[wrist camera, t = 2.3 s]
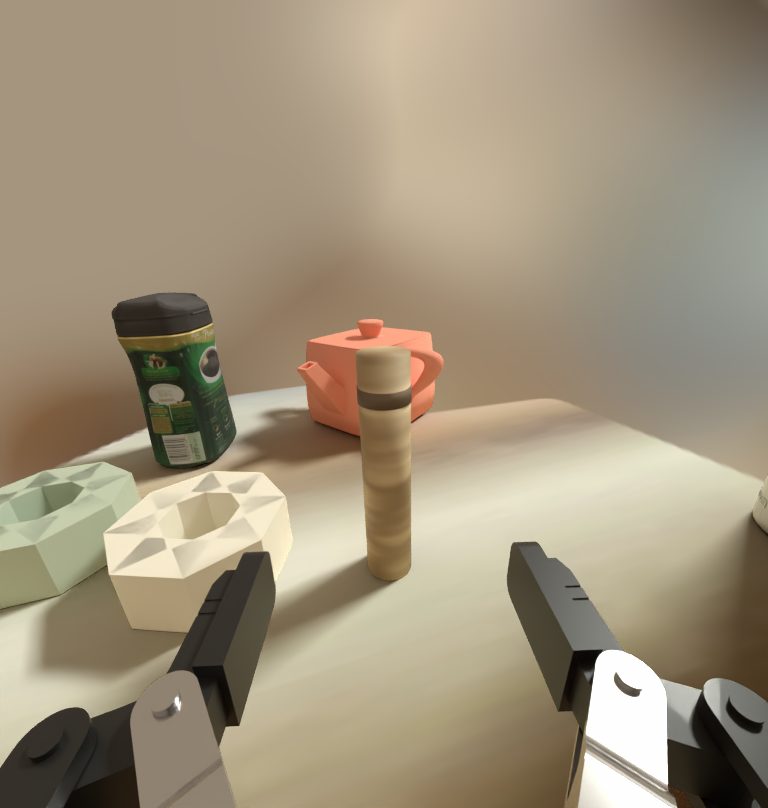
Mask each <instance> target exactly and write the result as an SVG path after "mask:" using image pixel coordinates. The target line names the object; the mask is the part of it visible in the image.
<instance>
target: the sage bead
mask: <svg viewBox="0 0 768 808" xmlns="http://www.w3.org/2000/svg"><path fill="white" fill-rule="evenodd" d="M140 501H141V499H140V496H139V493H138V490H137V487H136V484H135V481H134V478H133V475H132V473H130V472H128V471H126V470H123V469H121V468H118V467H116V466H113V465H111V464H108V463H106V462H97V463H91V464H84V465H78V466H71V467H65V468H58V469H52V470H45V471H42V472H39V473H37V474H34V475H32V476H29V477H27V478H24V479H22V480H19V481H17V482H14V483H12V484H9V485H6V486H4V487H2V488H0V609H2V608H6V607H11V606H15V605H19V604H24V603H28V602H32V601H36V600H41V599H45V598H49V597H53V596H58V595H61V594H62V593H64V592H65V591H67V590H69V589H70V588H72V587H73V586H75V585H76V584H78V583H79V582H81V581H83V580H84V579H86V578H87V577H89V576H90V575H92V574H93V573H95V572H97V571H98V570H100V569H101V568H103V567H104V566H106V565H107V557H106V549H105V542H104V535H103V533H104V532H105V531H106V530H107V529H109V528H110V527H111V526H112V525H113V524H114V523H116V522H117V521H118V520H119V519H120V518H121V517H123V516H124V515H125V514H126V513H127V512H128V511H130V510H131V509H132V508H133V507H134V506H135V505H137V504H138V503H139V502H140Z"/></svg>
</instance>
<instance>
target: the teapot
mask: <svg viewBox="0 0 768 808" xmlns="http://www.w3.org/2000/svg"><path fill="white" fill-rule="evenodd" d="M357 325H358V328H359V329H355V330H350V331H346V332H341V333H337V334H332V335H328V336H324V337H320V338H316V339H313V340H310V341H308V342H307V349H306V350H307V351H306V363H305V364H303V365H302V366H300V367H298V368H297V370H298V372H299V373H300V375H301V376H302V378H303V379H304V380H305V382H306V386H307V400H308V407H309V411H310V414H311V417H312V419H313V420H314V421H317V422H319V423H322V424H325V425H327V426H330V427H333V428H336V429H339V430H341V431H344V432H347V433H350V434H353V435H356V436H359V437H360V421H359V405H358V402H357V372H356V355H355V353H356V352H357V351H358V350H361V349H364V348H369V347H376V346H396V347H403V348H407V349H409V350H410V351H411V384H412V401H411V421H413V420H414V419H416V418H417V417H419V416H420V415H422V414H423V413H425V412H426V411H427V410H429V409H430V408H431V407H432V403H433V398H434V392H435V379H436V378H437V377H438V375H439V374H440V372H441V370H442V367H443V359H442V357H441V356H440V355H439V354H438V353H436V352H434V351H433V349H432V340H431V334H430V333H429V332H422V331H413V330H404V329H394V328H383V327H382V326H383V321H382V320H378V319H365V320H360V321H358V322H357Z"/></svg>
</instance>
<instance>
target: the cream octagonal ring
mask: <svg viewBox="0 0 768 808" xmlns="http://www.w3.org/2000/svg"><path fill="white" fill-rule="evenodd" d="M103 535H104V542H105V549H106V557H107V564H108V571H109V576H110V578H111V581H112V583H113V586H114V588H115V590H116V593H117V595H118V598H119V600H120V602H121V605H122V607H123V610H124V612H125V614H126V617H127V619H128V622H129V624H130V626H131V629H142V630H156V631H170V632H185V633H188V632H189V630H190V628H191V626H192V624H193V622H194V620H195V618H196V616H198V612H199V610H200V608H201V606H202V604H203V603H204V601H205V598H206V596H207V594H208V592H209V590H210V588H211V586H212V584H213V583H214V582H215V581H216V580H217V579H218V578H219V577H220V576H221V575H222V574H223V573H224V572H225V571H226V570H236V568H237V566H238V563H239V561H240V559H241V557H242V555H243V553H245V552H261V551H268V552H269V553H270V557H271V563H272V569H273V575H274V581H275V582H276V580H277V578H278V576H279V573H280V571H281V569H282V567H283V564H284V562H285V560H286V558H287V555H288V553H289V551H290V549H291V546H292V544H293V540H292V533H291V527H290V521H289V514H288V508H287V502H286V496H285V495H284V494H283V493H282V492H281V491H280V490H279V489H278V488H277V487H276V486H275V485H274V484H273V483H272V482H271V481H270V480H269V479H268V478H267V477H266V476H265V475H264V474H263V473H262V472H225V471H210V472H208V473H205V474H202V475H199V476H196V477H193V478H190V479H188V480H185V481H182V482H179V483H176V484H173V485H170V486H168V487H165V488H162V489H159V490H156V491H153V492H150V493H149V494H148V495H147V496H146V497H145V498H143V499H142V500H141V501H140V502H139V503H138V504H137V505H135V506H134V507H133V508H132V509H131V510H130V511H128V512H127V513H126V514H125V515H124V516H123V517H121V518H120V519H119V520H118V521H117V522H116V523H114V524H113V525H112V526H111V527H110V528H109V529H107V530H106V531H105V532H104V533H103Z"/></svg>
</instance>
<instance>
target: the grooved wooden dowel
mask: <svg viewBox="0 0 768 808" xmlns="http://www.w3.org/2000/svg"><path fill="white" fill-rule="evenodd" d="M355 355H356V372H357V402H358V405H359V421H360V438H361V455H362V471H363V488H364V505H365V521H366V538H367V555H368V567H369V570H370V572H371V573H372V574H373V575H374V576H375V577H376V578H378V579H381V580H385V581H394V580H398V579H400V578H402V577H404V576H405V575H406V574H407V573H408V572H409V570H410V567H411V401H412V384H411V351H410V350H409V349H407V348H403V347H396V346H376V347H369V348H364V349H361V350H358V351H357V352H356V353H355Z"/></svg>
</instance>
